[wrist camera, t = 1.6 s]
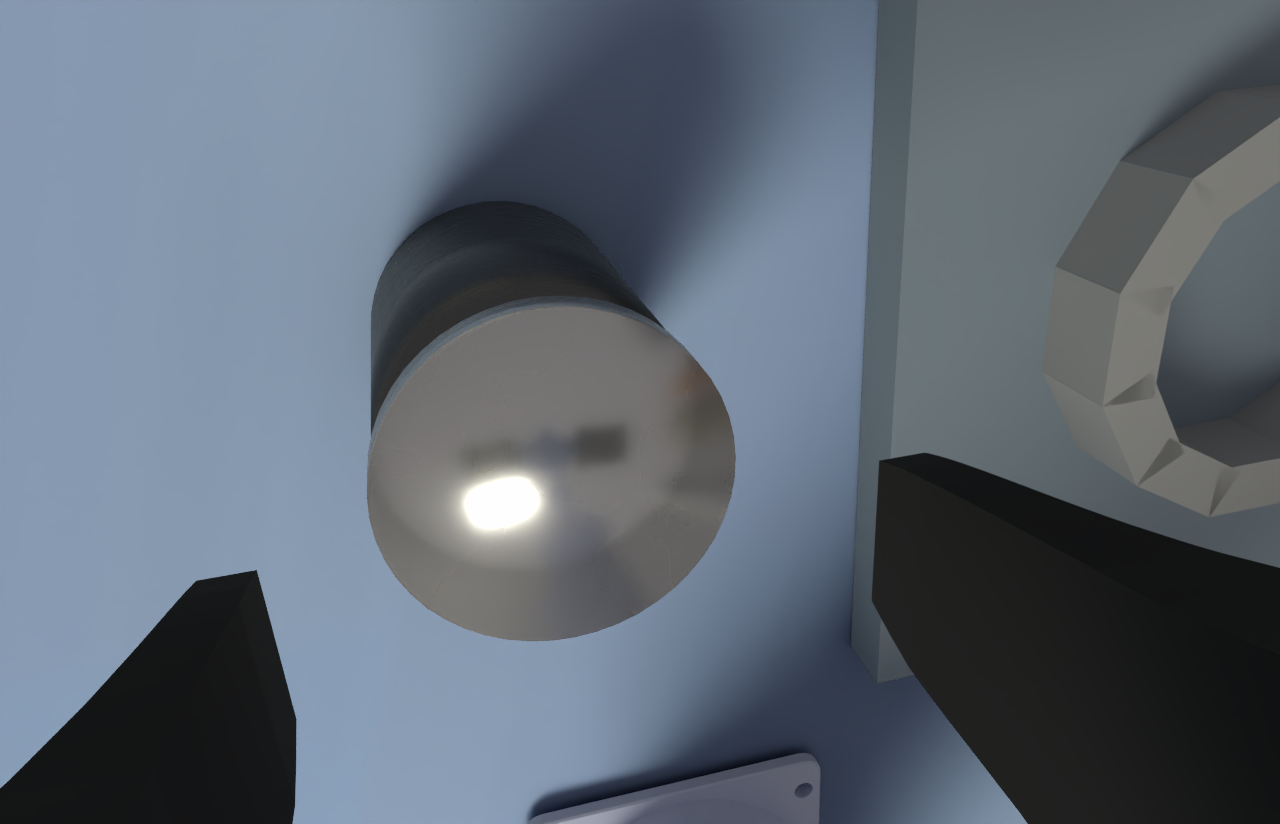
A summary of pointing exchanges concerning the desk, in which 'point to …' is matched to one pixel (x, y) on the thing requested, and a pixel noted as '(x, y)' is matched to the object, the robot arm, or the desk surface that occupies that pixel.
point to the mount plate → (1004, 220)
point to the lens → (535, 430)
